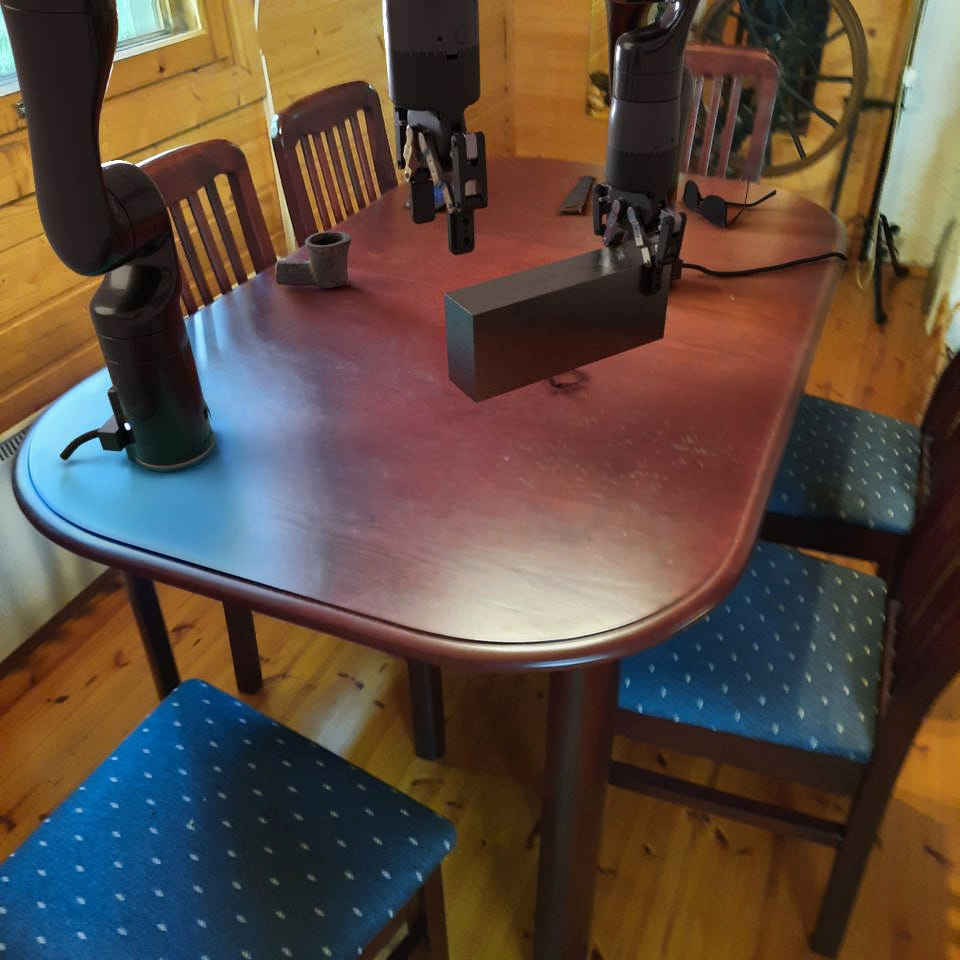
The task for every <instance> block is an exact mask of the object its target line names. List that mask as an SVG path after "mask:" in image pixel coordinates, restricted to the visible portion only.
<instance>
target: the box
mask: <svg viewBox="0 0 960 960" xmlns="http://www.w3.org/2000/svg"><path fill="white" fill-rule="evenodd" d="M651 250H652V254H653V255H655V254H656V249H655V246H654V245H651ZM667 253H668V252H667ZM644 266H645V264H644V260H643V255H642V251H641V248H639V247H637V245H636V241H635V239H634V240H630V241H627V242H623V243H620V244H616V245H612V246H609V247H603V248H599V249H595V250H591V251H589V252H588V251H587V252H584V253H581V254H579V255H574V256H570V257H567V258H564V259H560V260H556V261H554V262H550V263H546V264H542V265H539V266H535V267H531V268H527V269H525V270H521V271H517V272H514V273H510V274H507V275H504V276H500V277H497V278H493V279H489V280H485V281H482V282H479V283H476V284H472V285H469V286H468V285H467V286H465V287H461V288H458V289H453V290H451V291H447V292H444V294H443V298H444V299H443V301H444V315H445V317H444V319H445V334H446V352H447V368H448V369H447V370H448V381H450V382H451V383H452V384H453V385H455V386H456V387H457V388H458V389H459V391H461V392H462V393H463V394H465V395H466V396H467V397H468V398H469V399H470V400H471V401H472V402H473V403H475V404H479V403H482V402H484V401H487V400H490V399H493V398H496V397H498V396H501V395H504V394H508V393H510V392H513V391H516V390H519V389H522V388H524V387H528V386H530V385H533V384H537V383H539V382H542V381H544V380H547V379H548V380H549V378H552V377H553V378H554V377H555V376H559V375H562V374H565V373H568V372H571V371H572V370H574V371H575V370H577V369H579V368H582V367H585V366H587V365H590V364H593V363H597V362H599V361H603V360H605V359H608V358H611V357H613V356H616V355H619V354H622V353H626V352H629V351H632V350H633V349H636V348H640V347H642V346H645V345H648V344H652V343H655V342H657V341H660V340H662V339H664V337H665V329H666V320H667V311H668V310H667V309H668V302H669V295H670V287H669V286H670V277H671V269H672V264H670V265H666V266H664V267H663V275H662V282H661V283H662V285H661V289H660V291H659V292H658V293H657V294H655V295H651V296H648V297H646V296H644V295H642V294H641V290H642V279H643V267H644Z"/></svg>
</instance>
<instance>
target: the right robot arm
mask: <svg viewBox="0 0 960 960" xmlns="http://www.w3.org/2000/svg"><path fill="white" fill-rule="evenodd" d="M701 1H702V0H604V7H605V16H606V30H607V32H606V33H607V56H608V59H607V61H608V95H609V104H610V107H609V112H608V120H607V135H606V137H607V138H606V141H607V142H606V158H605V161H606V162H605V173H604V174H605V176H604V177H605V181H604V182H599V183H597V184H594V185H593V186H592V188H591V189H592V190H591V192H592V225H593V226H592V228H593V234H594V235H595V236H596V237H599V236H600V237H601V241H602V244H603V245H604V246H605V247H609V246H612V245H616V244H620V243H623V242H627V241H630V240H634V239H635V241H636V245H637V247H639V248H641V251H642V255H643V260H644V264H645V266H644V267H643V279H642V290H641V294H642V295H644V296H646V297H648V296H651V295H655V294H657V293H658V292H659V291H660V289H661V285H662V283H661V282H662V275H663V267H664V266H666V265H670V264H672V269H671V277H670V286H669V288H671V287H672V286H673V281H678V280H681V279H682V272H683V269H689V270H690V269H691V270H696V271H699V272H701V273H703V274H705V275H708V276H713V277H739V276H740V277H742V276H749V275H754V274H760V273H768V272H773V271H778V270H783V269H787V268H791V267H794V266H798V265H802V264H808V263H812V262H813V263H814V262H818V261H822V260H825V259H828V258H833V257H834V258H839V259H840V260H842V261H844V262H846V261H849V259H848V257H847V256H846V255H845V254H844V253H841V252H839V251H831V252H826V253H823V254H819V255H816V256H811V257H805V258H800V259H796V260H792V261H787V262H784V263H779V264H776V265H771V266H763V267H756V268H751V269H745V270H744V269H743V270H735V271H734V270H733V271H719V270H718V271H717V270H711V269H708V268H706V267H705V266H702V265H699V264H695V263H688V262H684V260H683V258H681V257H680V255H681V250H682V246H683V240H684V235H685V231H686V226H687V221H688V215H687V213H686V212H685V211H680V212H676V207H677V200H678V199H677V198H678V188H679V181H680V173H681V169H682V165H683V161H684V157H685V153H686V148H687V147H686V145H687V141H688V140H687V139H688V134H689V128H690V121H691V116H692V110H693V103H694V99H695V98H694V97H695V79H694V78H695V77H694V74H693V71H692V69H691V68H690V67H689V65H687V64H684V63H685V55H686V49H687V46H688V42H689V37H690V34H691V30H692V27H693V23H694V20H695V17H696V15H697V12H698V9H699V6H700V3H701ZM654 4H667V5H666V7H665V9H664V11H663V12H662V14H661V15H660V17H659V18H658V19H657V20H656V21H654V22H651V23H649V24H647V25H646V21H647V20H648V19H647V18H648V16H649V14H650V11H651V9H652V7H653V5H654ZM603 216H605V217H606V218H605V219H606V221H605V222H604V223H603ZM651 245H654V246H655V249H656V254H655V255H653V254H652V250H651ZM605 247H604V248H605ZM667 252H668V253H667Z"/></svg>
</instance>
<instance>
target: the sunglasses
mask: <svg viewBox="0 0 960 960" xmlns="http://www.w3.org/2000/svg"><path fill="white" fill-rule="evenodd" d="M750 180H751V175H748V180H747V187H746V192H745V199H744V203H739V202H733V201H727V200H725V199H724V198H722V197H721V196H719V195H716V194H708V195H706V196H705V197H702V194H701V192H700V190H699V186H698V185H697V183H696V182H695V181H694V180H693V179H688V180H687V181H686V183H685V186H684V188H683V195H682V196H681V200H682V202H683V203H684V205H685V206H686V208H688V209H690V211H693V212H695V213H697V214H698V215H700V216H701V217H702V218H703V219H705V220H706V221H707V222H709V223H711V224H713V225H716V226H718V227H722V228H728V227H730V226H732V225H733V224H734V223H735V222H736V221H737V220H738V218H739V217H740V216H741V215H742V213H743V212H744V209H745V208H751V207H755V206H757V205H760V204H762V203H763V202H765V201H767V200H769V199H770V198H772V197H774V196H776V195H777V189H774V190H773V191H771V192H769V193H768V194H766V195H765V196H763V197H761V198H760V199H758V200H757V201H754V202H752V203H747V199H748V193H749V187H750V182H751V181H750ZM701 202H702V203H701ZM728 206H732V207H738V208H739V207H740V208H741V209H740V211H739V212H738V213H737V214H736V215H735V216H734V217H733V218H732V219H731V220H730V221H729V222H727V218H728Z"/></svg>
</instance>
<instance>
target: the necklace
mask: <svg viewBox="0 0 960 960" xmlns="http://www.w3.org/2000/svg"><path fill="white" fill-rule="evenodd" d="M571 371H573V372H577V373H579V374H580V375H581V378H580V379H579V380H578V381H575V382H565V383H564V382H559V381H557V380H555V379H554V376H553V377H551V378H548V380H549V381H548V382H549V385H550V386H551V387H552V388H555V389H567V388H570V387H573V386H574V387H575V386H576V385H578V384H579V383H580V382H581V381H582V380H583V379H584V375H583V373H582V372H580V371H578V370H575V369H574V370H571Z"/></svg>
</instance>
